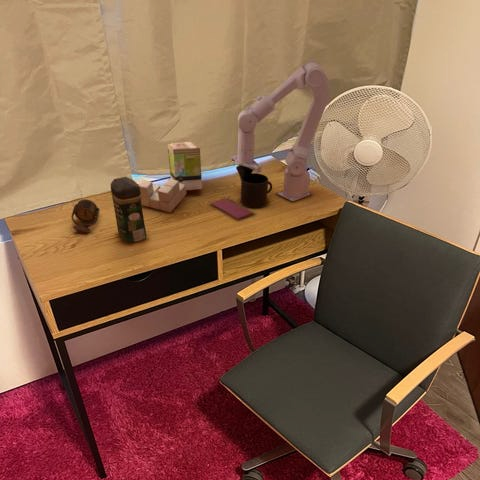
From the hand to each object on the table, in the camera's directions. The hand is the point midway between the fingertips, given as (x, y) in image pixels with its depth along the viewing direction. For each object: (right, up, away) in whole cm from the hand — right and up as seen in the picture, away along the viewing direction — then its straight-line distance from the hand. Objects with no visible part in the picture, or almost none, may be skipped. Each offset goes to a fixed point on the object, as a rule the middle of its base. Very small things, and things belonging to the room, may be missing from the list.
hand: (244, 185), depth 174 cm
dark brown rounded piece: (-53, -18, -16) cm, 58 cm away
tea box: (-22, +1, +6) cm, 23 cm away
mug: (+4, -6, -1) cm, 8 cm away
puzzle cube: (-29, -6, -4) cm, 30 cm away
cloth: (-5, -10, -7) cm, 13 cm away
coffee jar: (-36, -23, -22) cm, 48 cm away
